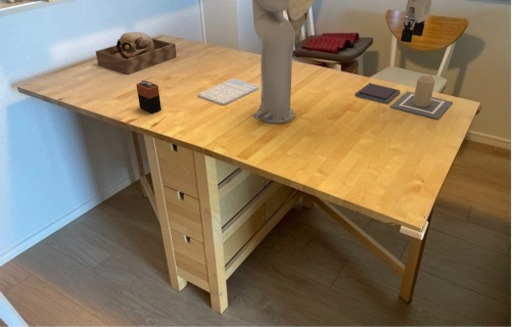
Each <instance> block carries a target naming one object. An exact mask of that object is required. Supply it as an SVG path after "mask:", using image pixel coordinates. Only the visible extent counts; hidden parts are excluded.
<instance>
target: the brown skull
mask: <svg viewBox="0 0 512 327" xmlns="http://www.w3.org/2000/svg"><path fill="white" fill-rule="evenodd" d="M151 38H152V37H151V36H150V35H148V34H146V33H144V32H140V31H132V32H131V31H130V32H129V31H128V32H124V33H123V34H121V36H120V37H119V38H118V39H117V42H116V44H115V45H116V49H115V50H114V53H116V54H115V56H117V57H121V58H124V59H129V58H132V57H135V56H138V55H141V54H144V53H147V52H150V51H153V50H154V43H153V41H152V39H151Z"/></svg>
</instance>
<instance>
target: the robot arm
mask: <svg viewBox="0 0 512 327" xmlns="http://www.w3.org/2000/svg"><path fill="white" fill-rule="evenodd" d="M251 3H252V15H253V16H252V17H253V19H252V20H253V27H254V31H255V34H256V36H257V37H258V38H259V39H260V41H261V42H262V43H261V44H262V49H261V50H262V51H261V58H260V91H261V92H260V105H259V108H258V109H257V110H256V112H255V113H253V114H252V115H253V116H252V117H253V119H254V120H260V121H261V122H264V123H266V124H274V125H275V124H277V125H278V124H279V125H280V124H286V123H288V122H291V121H292V120H294V118H295V117H296V112H295V110H294V109H293V108H291V97H292V96H291V95H292V94H291V93H292V73H293V72H292V68H293V54H294V46H295V42H296V32H295V29H294V27H293V25H292V23H291V22H290V21H289V20H288V19H287V18H285V16H284V11H286V10H287V9H288V7H289V5H290V3H291V0H252V1H251ZM432 3H433V0H407V2H406V6H405V11H404V17H403V26H402V32H401V37H400V42H403V43H409V44H410V43H412V39H413V36H417V37H423V34H424V28H425V26H426V24H425V23H426V20H428V19H429V17H430V15H431V11H432V9H431V8H432Z"/></svg>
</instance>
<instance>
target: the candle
mask: <svg viewBox="0 0 512 327" xmlns="http://www.w3.org/2000/svg"><path fill="white" fill-rule="evenodd" d="M435 84H436V80H435V79H434V77H433V76H432V75H421V76H419V78H417V80H416V84H415V85H416V86H415V90H414V93H415V94H414V99H413V104H414V105H416V106H419V107H428V106H429V105H430V101H431V97H433V93H434V88H435Z"/></svg>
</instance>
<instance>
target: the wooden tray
mask: <svg viewBox="0 0 512 327" xmlns="http://www.w3.org/2000/svg"><path fill="white" fill-rule="evenodd" d="M150 38H151V39H152V41H153V43H154V50H153V51H150V52H147V53H144V54H141V55H138V56H135V57H132V58H129V59H124V58H121V57H117V56H115V54H116V53H114V50H115V49H116V45H117V44H115V45H113V46H109V47H105V48H102V49H99V50H95V55H96V60H97V64H98V66H100V67H104V68H107V69H109V70H113V71H116V72H119V73H121V74H126V75H132V74H134V73H138V72H140V71H142V70H145V69H148V68H151V67H154V66H156V65H159V64H162V63H164V62H167V61H171V60H173V59H175V58H177V48H176V44H175V43H172V42H168V41H165V40H160V39H157V38H152V37H150Z"/></svg>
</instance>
